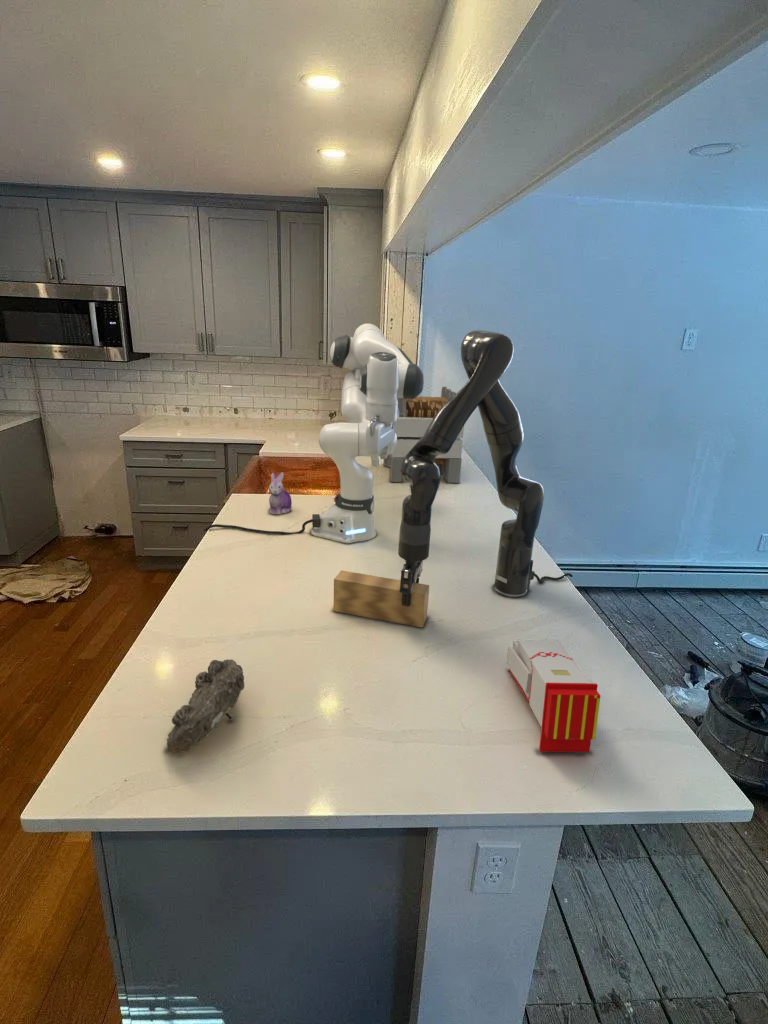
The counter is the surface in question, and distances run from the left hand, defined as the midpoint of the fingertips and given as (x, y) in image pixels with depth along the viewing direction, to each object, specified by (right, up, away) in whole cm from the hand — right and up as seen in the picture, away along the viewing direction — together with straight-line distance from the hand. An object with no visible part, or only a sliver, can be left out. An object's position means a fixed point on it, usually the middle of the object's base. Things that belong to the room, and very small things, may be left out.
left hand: (379, 462), depth 162 cm
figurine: (-38, -14, +55) cm, 68 cm away
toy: (+34, -53, -46) cm, 78 cm away
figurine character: (+15, -12, +66) cm, 69 cm away
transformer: (+19, +5, +113) cm, 115 cm away
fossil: (-31, -53, -53) cm, 82 cm away
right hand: (+8, -36, -19) cm, 41 cm away
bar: (0, -41, -14) cm, 43 cm away
